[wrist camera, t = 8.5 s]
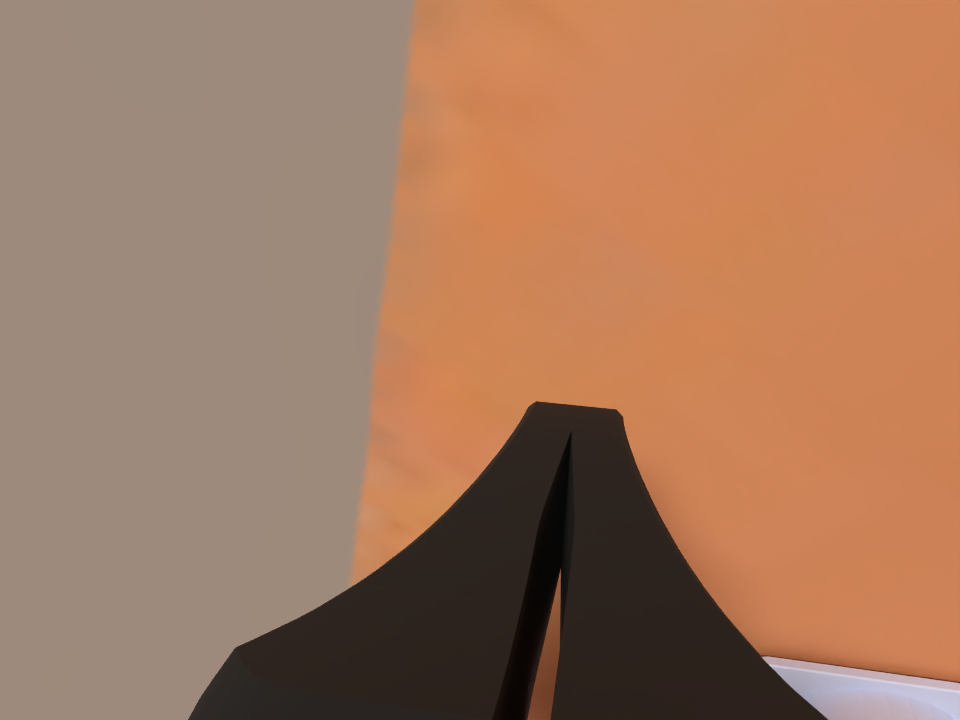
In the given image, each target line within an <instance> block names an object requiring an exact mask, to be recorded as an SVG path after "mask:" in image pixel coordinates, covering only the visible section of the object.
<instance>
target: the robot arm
mask: <svg viewBox="0 0 960 720" xmlns="http://www.w3.org/2000/svg"><path fill="white" fill-rule="evenodd" d="M560 569H561V612H560V654H559V662H558V669H557V677H556V684H555V692H554V699H553V707H552V714H551V720H960V683H956V682H949V681H941V680H934V679H927V678H920V677H913V676H906V675H898V674H891V673H884V672H877V671H870V670H863V669H855V668H848V667H841V666H834V665H827V664H819V663H812V662H805V661H798V660H791V659H784V658H776V657H769V656H763V657H761V656H760V654H759V653H758V652H757V651H756V650H755V649H754V648H753V646H752V645H751V644H750V643H749V642H748V641H747V640H746V638H745V637H744V636H743V635H742V634H741V633H740V632H739V630H738V629H737V628H736V627H735V626H734V625H733V623H732V622H731V621H730V620H729V619H728V618H727V617H726V615H725V614H724V613H723V612H722V610H721V609H720V608H719V606H718V605H717V604H716V602H715V601H714V600H713V598H712V597H711V596H710V594H709V593H708V592H707V590H706V589H705V588H704V586H703V585H702V583H701V582H700V581H699V579H698V578H697V576H696V575H695V573H694V572H693V570H692V569H691V567H690V566H689V565H688V563H687V561H686V560H685V558H684V557H683V555H682V554H681V552H680V550H679V549H678V547H677V545H676V544H675V542H674V540H673V539H672V537H671V535H670V533H669V531H668V530H667V528H666V526H665V524H664V522H663V521H662V519H661V517H660V515H659V513H658V511H657V509H656V507H655V505H654V503H653V501H652V499H651V497H650V495H649V492H648V490H647V488H646V486H645V484H644V481H643V479H642V477H641V475H640V472H639V470H638V467H637V465H636V462H635V460H634V457H633V454H632V451H631V449H630V445H629V442H628V439H627V435H626V432H625V427H624V422H623V416H622V415H621V414H620V413H619V412H618V411H617V410H616V409H606V408H596V407H586V406H576V405H567V404H557V403H547V402H537V401H536V402H535V403H533V404H532V405H530V406H529V407H528V409H527V411H526V412H525V414H524V416H523V418H522V419H521V421H520V423H519V424H518V426H517V427H516V429H515V430H514V432H513V433H512V435H511V436H510V438H509V439H508V440H507V442H506V443H505V444H504V446H503V447H502V449H501V450H500V451H499V452H498V454H497V455H496V456H495V457H494V459H493V460H492V461H491V462H490V464H489V465H488V466H487V467H486V469H485V470H484V471H483V472H482V474H481V475H480V476H479V477H478V478H477V479H476V480H475V482H474V483H473V484H472V485H471V486H470V487H469V488H468V489H467V490H466V491H465V492H464V493H463V494H462V496H461V497H460V498H459V499H458V500H457V501H456V502H455V503H454V504H453V505H452V506H451V507H450V508H449V509H448V510H447V511H446V512H445V513H444V514H443V515H442V516H441V517H440V518H439V519H438V520H437V521H436V522H435V523H434V524H433V525H432V526H430V527H429V528H428V529H427V530H426V531H425V532H424V533H423V534H421V535H420V536H419V537H418V538H417V539H416V540H414V541H413V542H412V543H411V544H410V545H409V546H407V547H406V548H405V549H403V550H402V551H401V552H400V553H398V554H397V555H396V556H394V557H393V558H392V559H390V560H389V561H388V562H387V563H385V564H384V565H383V566H381V567H380V568H379V569H377V570H376V571H375V572H373V573H372V574H370V575H369V576H367V577H366V578H365V579H363V580H362V581H360V582H359V583H357V584H356V585H354V586H352V587H351V588H349V589H347V590H346V591H344V592H343V593H341V594H339V595H338V596H336V597H334V598H333V599H331V600H329V601H328V602H326V603H325V604H323V605H321V606H320V607H318V608H316V609H314V610H313V611H311V612H309V613H307V614H305V615H303V616H301V617H299V618H298V619H296V620H293V621H291V622H289V623H287V624H285V625H283V626H281V627H279V628H277V629H275V630H272V631H270V632H268V633H266V634H264V635H262V636H260V637H258V638H256V639H254V640H251V641H249V642H247V643H245V644H242V645H240V646H238V647H236V648H235V649H234V650H233V652H232V653H231V654H230V656H229V657H228V659H227V660H226V662H225V663H224V664H223V666H222V667H221V669H220V670H219V672H218V673H217V674H216V676H215V677H214V678H213V680H212V681H211V683H210V684H209V686H208V687H207V689H206V690H205V691H204V693H203V694H202V696H201V698H200V699H199V701H198V703H197V705H196V706H195V708H194V710H193V712H192V714H191V716H190V717H189V719H188V720H527V718H528V713H529V707H530V702H531V696H532V691H533V687H534V682H535V678H536V674H537V669H538V665H539V661H540V656H541V652H542V648H543V643H544V639H545V635H546V630H547V626H548V622H549V617H550V613H551V609H552V604H553V600H554V596H555V591H556V587H557V582H558V578H559V574H560Z"/></svg>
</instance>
